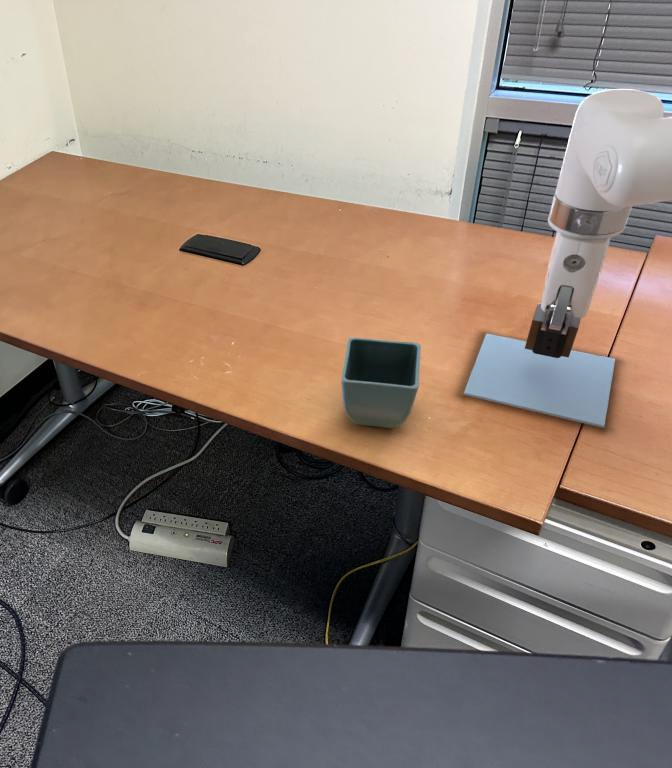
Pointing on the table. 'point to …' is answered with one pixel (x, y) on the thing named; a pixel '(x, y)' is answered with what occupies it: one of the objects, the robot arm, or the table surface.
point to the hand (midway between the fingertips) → (549, 342)
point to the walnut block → (538, 321)
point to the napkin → (542, 380)
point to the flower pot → (380, 381)
